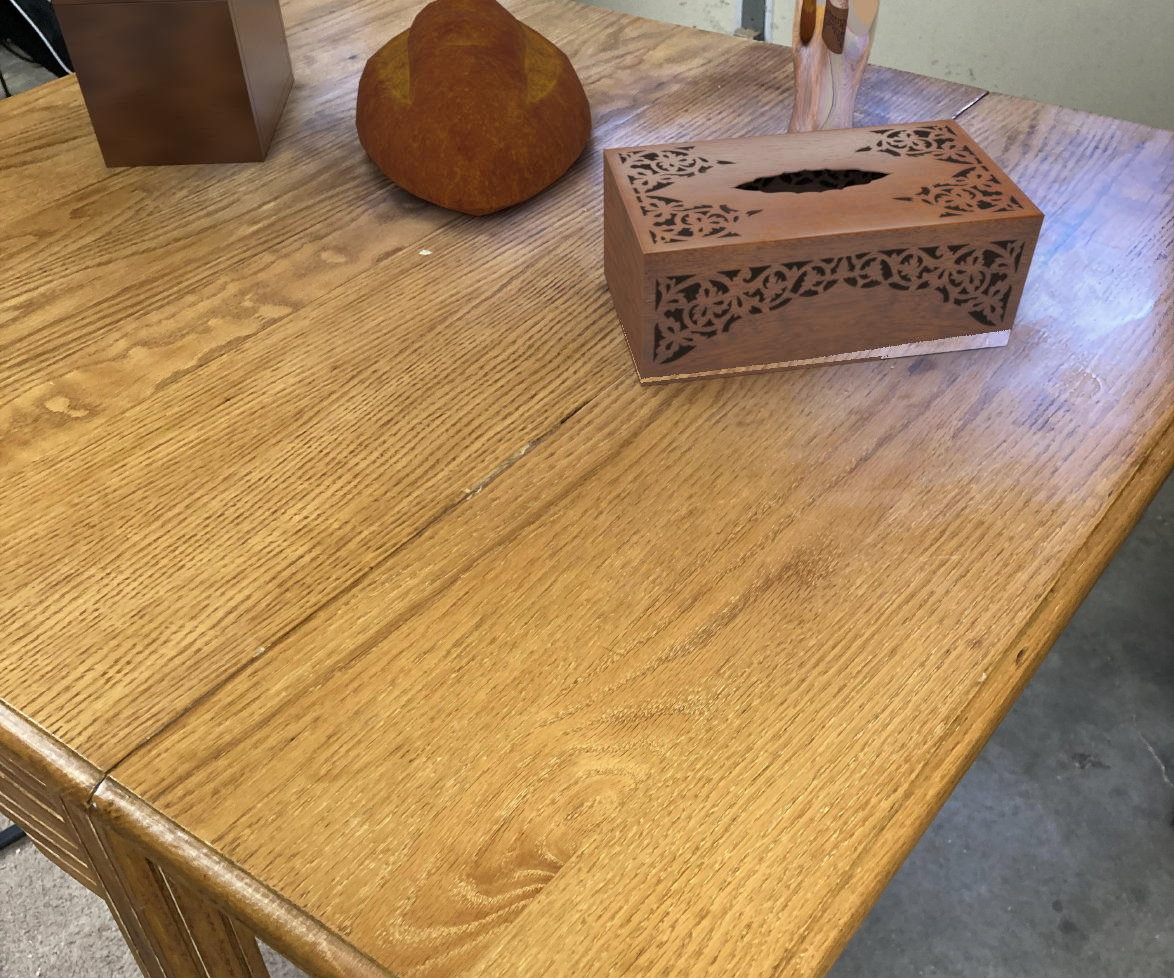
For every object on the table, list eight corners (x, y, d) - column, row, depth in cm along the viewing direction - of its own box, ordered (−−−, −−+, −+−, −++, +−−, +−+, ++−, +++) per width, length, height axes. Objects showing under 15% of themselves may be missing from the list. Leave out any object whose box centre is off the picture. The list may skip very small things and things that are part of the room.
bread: (338, 238, 90) (310, 87, 81) (378, 75, 114) (359, -54, 105) (600, 229, 90) (599, 77, 82) (584, 69, 114) (582, -61, 106)
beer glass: (766, 132, 103) (783, -41, 92) (833, 120, 104) (857, -51, 94) (803, 164, 98) (826, -15, 88) (873, 150, 99) (902, -26, 89)
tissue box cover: (927, 241, 88) (953, 119, 81) (1007, 346, 77) (1044, 215, 70) (603, 273, 85) (603, 149, 78) (640, 386, 74) (643, 253, 68)
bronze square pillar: (105, 167, 100) (45, -15, 89) (156, 84, 113) (109, -83, 103) (263, 162, 100) (222, -21, 89) (294, 79, 113) (262, -88, 103)
